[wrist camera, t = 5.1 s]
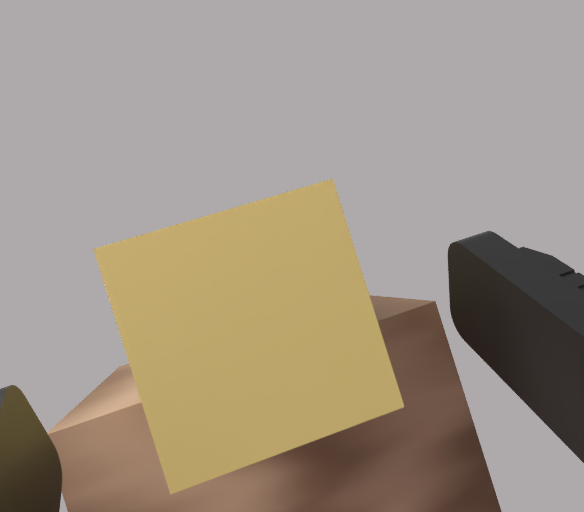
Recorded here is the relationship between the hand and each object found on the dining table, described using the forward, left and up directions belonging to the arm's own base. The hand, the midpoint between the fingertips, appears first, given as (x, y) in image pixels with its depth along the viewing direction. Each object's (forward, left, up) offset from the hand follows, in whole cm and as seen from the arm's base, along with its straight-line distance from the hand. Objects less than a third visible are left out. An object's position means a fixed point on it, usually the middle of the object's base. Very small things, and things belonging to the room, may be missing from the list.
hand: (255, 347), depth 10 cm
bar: (0, -8, -1) cm, 8 cm away
